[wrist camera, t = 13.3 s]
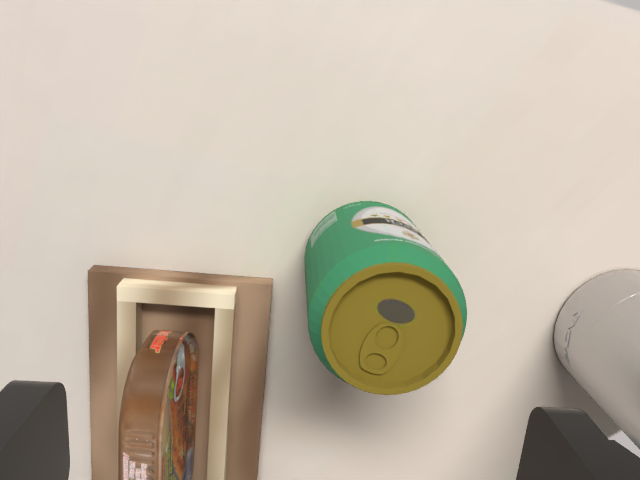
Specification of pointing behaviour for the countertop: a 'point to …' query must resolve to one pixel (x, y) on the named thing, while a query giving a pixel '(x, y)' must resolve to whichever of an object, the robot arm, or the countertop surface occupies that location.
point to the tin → (160, 409)
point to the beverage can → (380, 300)
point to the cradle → (213, 359)
